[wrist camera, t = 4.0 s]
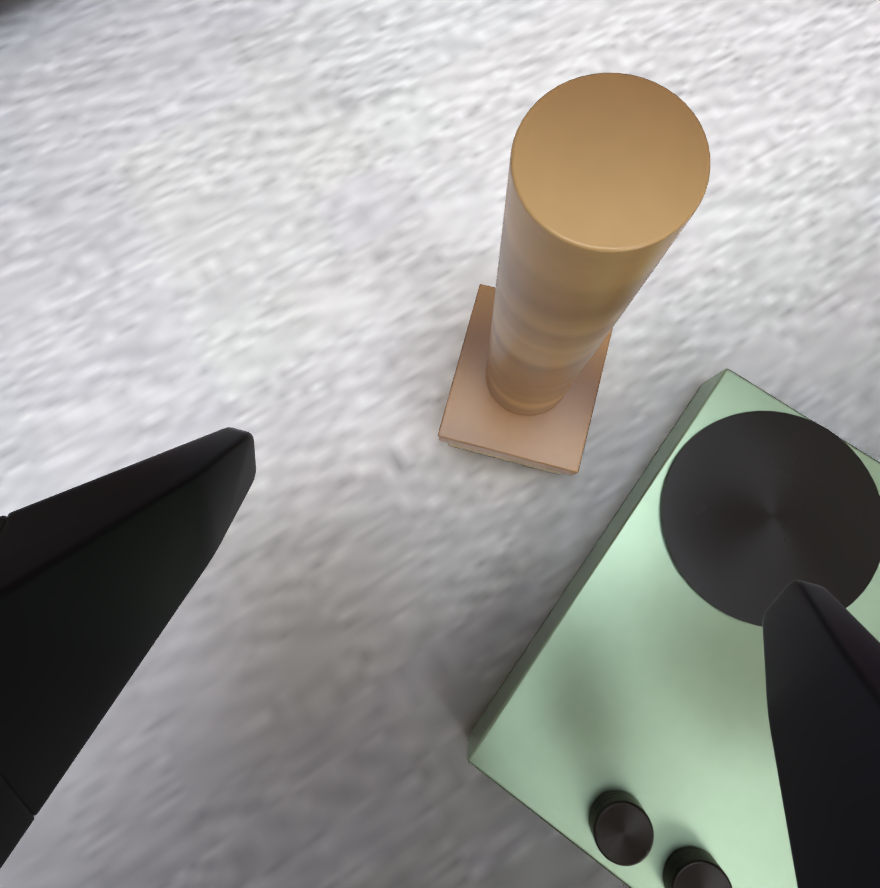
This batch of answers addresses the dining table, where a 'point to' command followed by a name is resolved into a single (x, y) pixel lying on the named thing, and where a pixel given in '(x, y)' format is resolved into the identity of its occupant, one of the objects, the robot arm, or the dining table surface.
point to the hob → (686, 647)
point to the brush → (572, 262)
